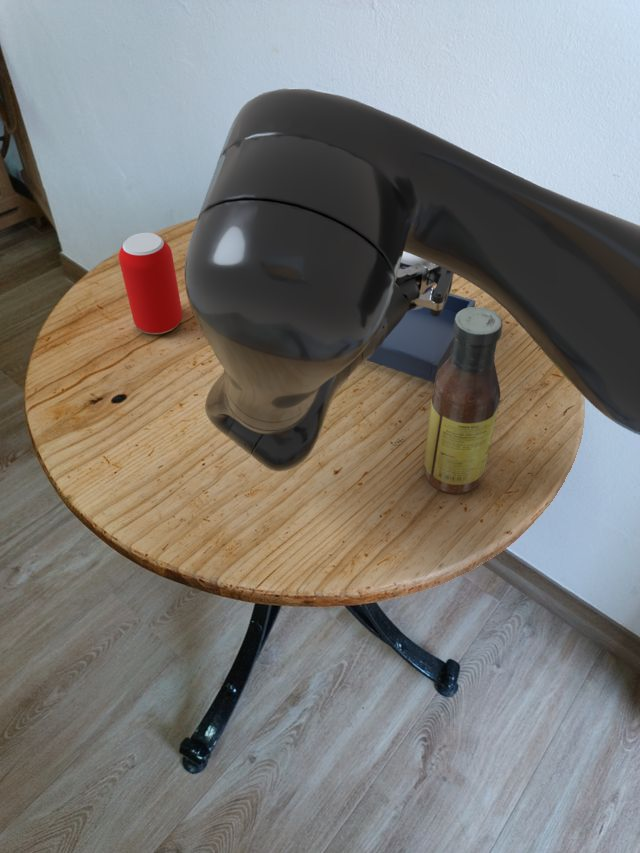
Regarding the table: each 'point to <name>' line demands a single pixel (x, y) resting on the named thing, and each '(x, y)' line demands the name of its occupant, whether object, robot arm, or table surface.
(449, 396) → the sauce bottle
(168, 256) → the beverage can
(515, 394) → the table surface
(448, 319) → the blue tray
